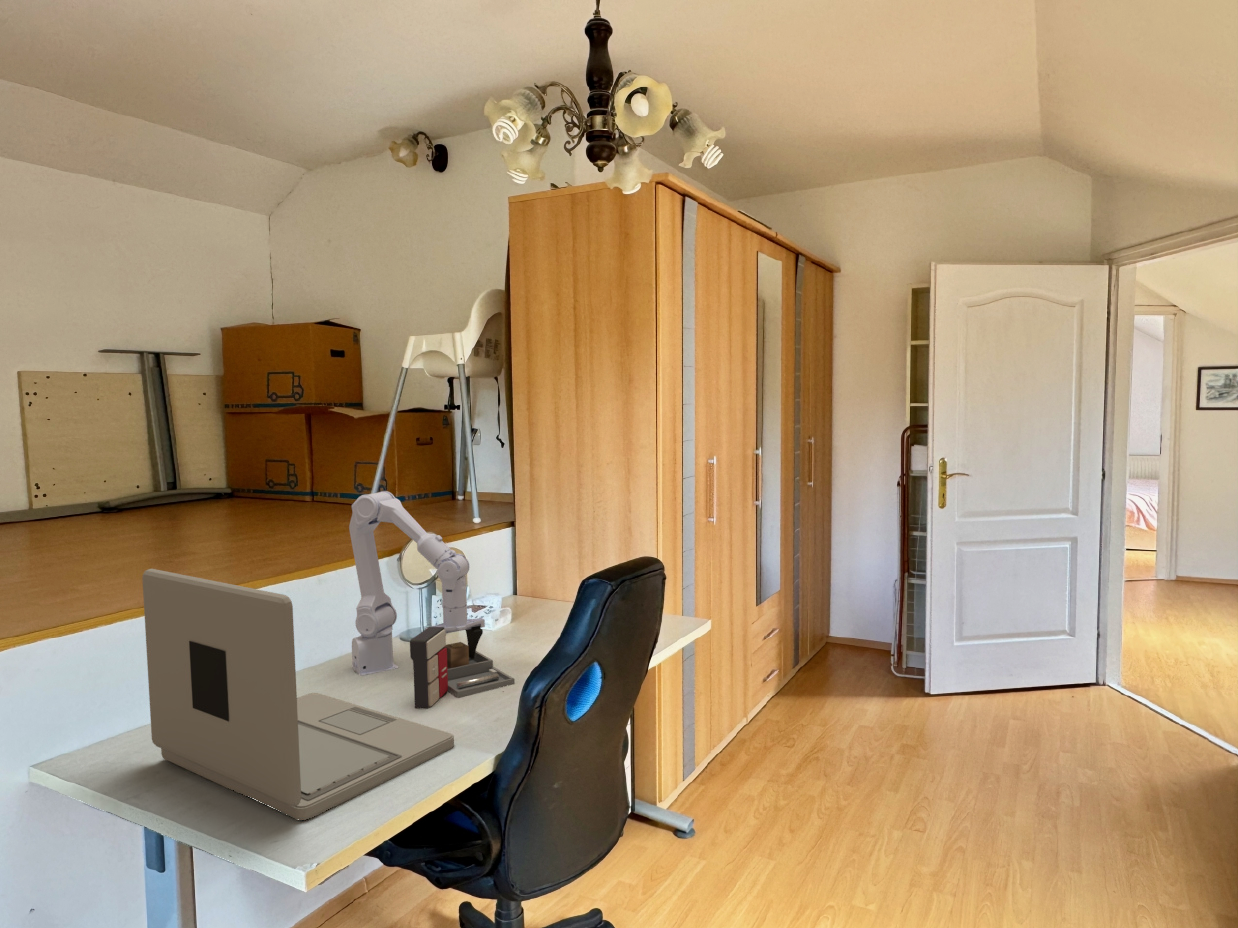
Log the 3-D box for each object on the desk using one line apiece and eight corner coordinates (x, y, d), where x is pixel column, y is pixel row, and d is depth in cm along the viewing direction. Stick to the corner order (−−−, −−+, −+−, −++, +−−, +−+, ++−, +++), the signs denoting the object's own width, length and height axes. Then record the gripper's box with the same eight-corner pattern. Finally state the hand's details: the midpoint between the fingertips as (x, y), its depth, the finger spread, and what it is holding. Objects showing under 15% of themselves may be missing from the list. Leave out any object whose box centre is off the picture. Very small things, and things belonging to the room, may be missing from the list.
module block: (451, 674, 188) (450, 648, 188) (444, 669, 192) (443, 643, 191) (469, 670, 191) (468, 644, 190) (461, 665, 194) (460, 640, 194)
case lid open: (457, 698, 174) (457, 691, 174) (438, 684, 183) (438, 678, 183) (514, 685, 182) (514, 678, 182) (493, 672, 191) (493, 666, 191)
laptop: (458, 749, 148) (452, 559, 146) (292, 831, 120) (282, 598, 117) (314, 703, 173) (307, 541, 170) (149, 763, 144) (138, 569, 142)
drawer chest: (431, 710, 167) (428, 640, 166) (411, 709, 168) (409, 640, 167) (450, 691, 178) (447, 626, 177) (431, 690, 179) (429, 626, 178)
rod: (456, 688, 179) (459, 689, 178) (456, 682, 179) (458, 682, 178) (496, 679, 185) (499, 679, 184) (496, 673, 185) (498, 673, 184)
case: (438, 684, 183) (437, 671, 183) (420, 672, 192) (420, 660, 192) (493, 672, 191) (492, 660, 191) (473, 661, 200) (473, 649, 200)
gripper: (432, 613, 183) (434, 671, 184) (489, 604, 191) (491, 658, 192) (421, 607, 189) (423, 663, 190) (477, 598, 197) (478, 652, 198)
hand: (456, 660), depth 191 cm, fingers open, 7 cm apart
